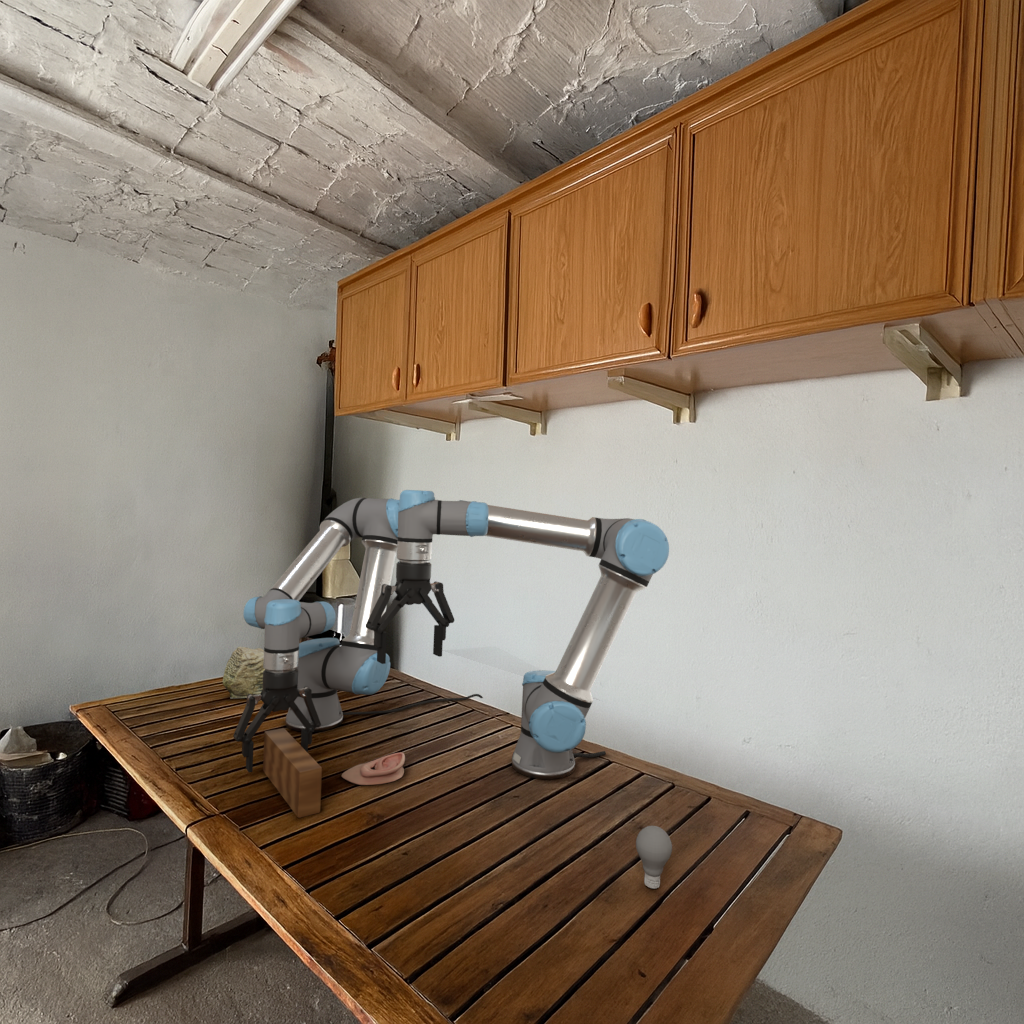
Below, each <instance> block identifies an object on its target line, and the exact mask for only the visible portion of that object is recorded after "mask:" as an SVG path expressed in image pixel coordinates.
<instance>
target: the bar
mask: <svg viewBox="0 0 1024 1024" xmlns="http://www.w3.org/2000/svg"><path fill="white" fill-rule="evenodd" d="M262 760H263V761H262V763H263V765H262V771H263V773H264V775H266V777H267V778H268V779H269V781H270V782H271V784H272V785H273V786H274V788H275V789H276V791H278V793H279V795H280V796H282V798H283V800H284V801H285V802H286V803H287V805H288V807H289V808H290V809H291V810H292V812H293V813H294V815H295V816H296V817H297V818H298V819H301V818H304V817H309V816H312V815H316V814H320V813H321V802H322V801H321V799H322V779H323V778H322V776H323V775H322V773H323V767H322V766H321V765H320V764H319V763H318V761H316V760H315V759H314V758H313V757H312V756H311V754H309V752H308V753H307V752H306V751H305V750H304V748H303V747H302V746H301V743H299V742H298V741H297V740H296V739H295V737H293V736H292V735H291V733H290V732H288V730H286V728H285V727H282V728H275V729H271V730H270V729H269V730H266V731H265V730H264V736H263V759H262Z"/></svg>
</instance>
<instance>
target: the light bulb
mask: <svg viewBox="0 0 1024 1024" xmlns="http://www.w3.org/2000/svg"><path fill="white" fill-rule="evenodd" d="M635 848H636V849H635V850H636V852H637V854H638V857H639V858H640V860H641V863H642V869H643V872H644V879H643V880H644V885H645V886H647V887H648V888H650V889H658V888H660V886H661V875H662V874H663V871H664V867H665V866H666V863H668V861H669V860H670V858H671V855H672V852H673V842H672V840H671V838H670V836H669V834H668V832H666V831H665V829H663V828H662V827H660V826H657V825H648V826H645V827H643V828H642V829H641V830H640V831H639V832H638V833H637V835H636V839H635Z"/></svg>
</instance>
